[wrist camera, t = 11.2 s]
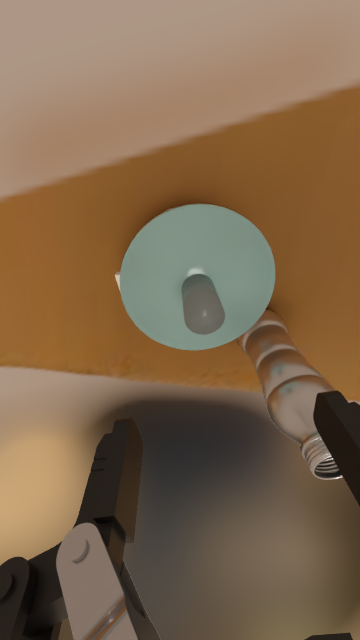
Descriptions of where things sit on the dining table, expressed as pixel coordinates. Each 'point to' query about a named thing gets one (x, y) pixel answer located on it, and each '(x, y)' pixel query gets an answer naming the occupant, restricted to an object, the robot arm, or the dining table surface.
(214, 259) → the lid
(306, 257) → the dining table surface
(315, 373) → the plastic bottle
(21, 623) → the robot arm
